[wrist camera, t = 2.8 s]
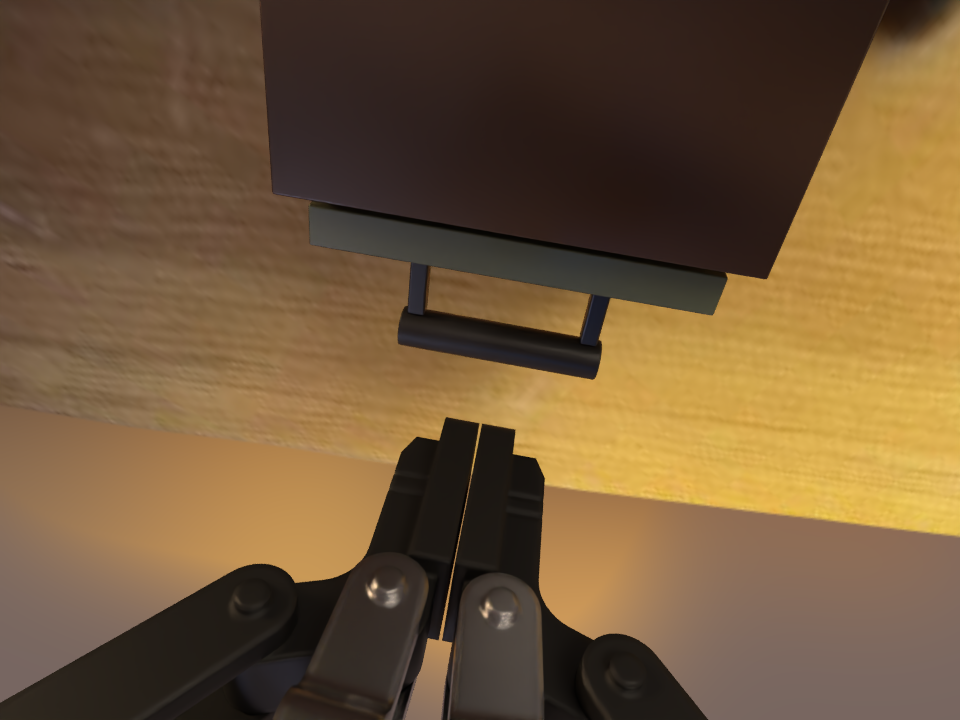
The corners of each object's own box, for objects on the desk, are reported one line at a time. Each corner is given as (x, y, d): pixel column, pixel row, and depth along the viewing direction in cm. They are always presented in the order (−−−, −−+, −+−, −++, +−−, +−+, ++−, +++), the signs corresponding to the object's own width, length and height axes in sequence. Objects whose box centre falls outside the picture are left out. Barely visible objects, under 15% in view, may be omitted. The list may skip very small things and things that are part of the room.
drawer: (642, 318, 26) (663, 442, 20) (376, 270, 27) (313, 378, 20) (840, -293, 16) (1017, -442, 9) (399, -356, 16) (283, -540, 10)
